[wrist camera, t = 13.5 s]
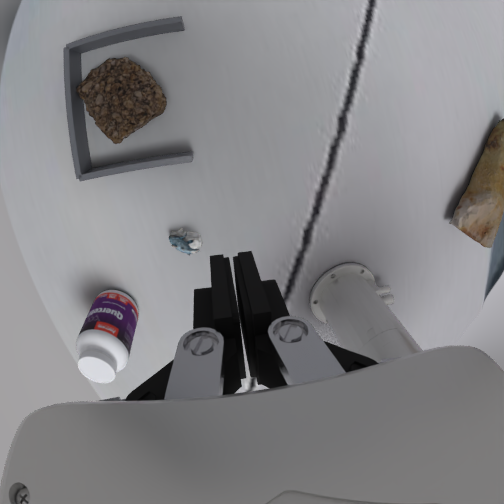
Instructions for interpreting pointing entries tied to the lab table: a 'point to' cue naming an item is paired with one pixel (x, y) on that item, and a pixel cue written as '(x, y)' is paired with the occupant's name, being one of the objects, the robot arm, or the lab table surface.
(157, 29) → the tray
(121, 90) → the concrete sample
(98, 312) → the pill bottle
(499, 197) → the mineral
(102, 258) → the lab table surface
